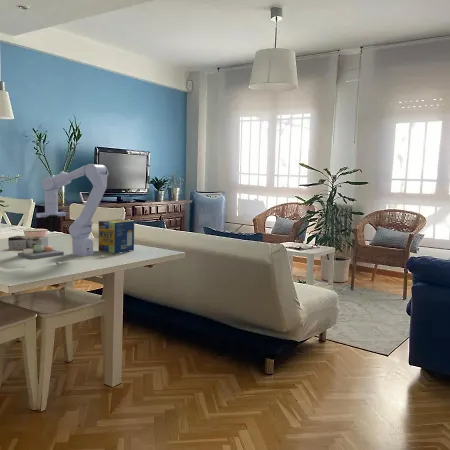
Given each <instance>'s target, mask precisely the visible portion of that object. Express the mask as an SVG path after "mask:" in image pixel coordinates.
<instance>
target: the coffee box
mask: <svg viewBox="0 0 450 450" xmlns="http://www.w3.org/2000/svg"><path fill="white" fill-rule="evenodd" d="M7 239H8V241H7V243H8V251H15V250H16V251H17V250H23V249H33V250H34V245H43V250H44V247H46V246H49V236H40V235H39V236H38V235H37V236H36V235H35V236H34V235H14V236H10V237H8V238H7Z"/></svg>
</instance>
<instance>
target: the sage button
mask: <svg viewBox="0 0 450 450" xmlns="http://www.w3.org/2000/svg"><path fill="white" fill-rule="evenodd" d="M43 250H44V249H43V245H34V249H33V251H34V252H35V253H41V252H43Z"/></svg>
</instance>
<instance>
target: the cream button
mask: <svg viewBox="0 0 450 450" xmlns="http://www.w3.org/2000/svg"><path fill="white" fill-rule="evenodd" d="M33 251H34V249H22V252H23V254H33Z"/></svg>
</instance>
